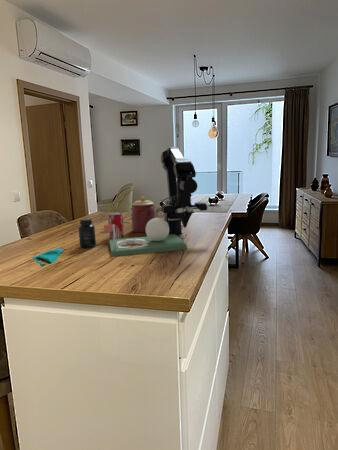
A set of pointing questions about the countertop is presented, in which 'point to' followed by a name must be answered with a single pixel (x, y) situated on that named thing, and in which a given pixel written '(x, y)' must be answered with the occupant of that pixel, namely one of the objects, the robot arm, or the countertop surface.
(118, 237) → the soda can
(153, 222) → the ball
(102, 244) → the countertop surface
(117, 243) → the putting deck
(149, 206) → the canister
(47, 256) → the cloth
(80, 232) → the supplement bottle
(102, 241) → the countertop surface
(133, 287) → the countertop surface
